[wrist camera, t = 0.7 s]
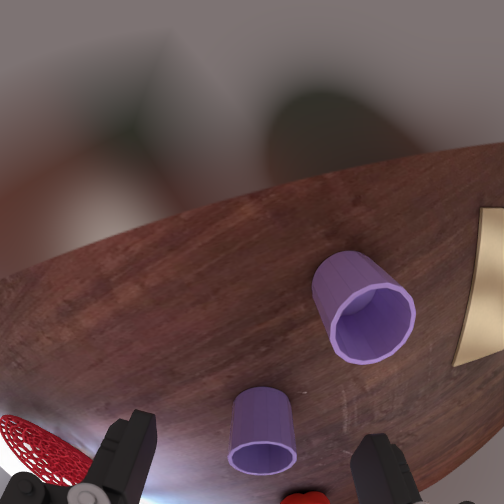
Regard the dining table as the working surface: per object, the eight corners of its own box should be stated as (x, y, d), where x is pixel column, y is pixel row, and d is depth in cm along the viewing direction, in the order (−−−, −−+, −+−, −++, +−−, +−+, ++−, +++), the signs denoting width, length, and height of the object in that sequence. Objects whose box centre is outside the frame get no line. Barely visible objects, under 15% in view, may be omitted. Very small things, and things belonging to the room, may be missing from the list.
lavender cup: (311, 253, 26) (332, 288, 18) (379, 248, 26) (421, 278, 18) (311, 319, 28) (327, 369, 20) (375, 312, 28) (407, 356, 20)
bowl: (69, 485, 43) (63, 499, 38) (-10, 397, 35) (-22, 411, 31) (168, 500, 40) (164, 519, 35) (73, 399, 32) (58, 421, 28)
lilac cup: (230, 387, 30) (223, 442, 23) (290, 384, 30) (297, 439, 22) (236, 424, 32) (232, 475, 24) (290, 422, 32) (295, 473, 24)
